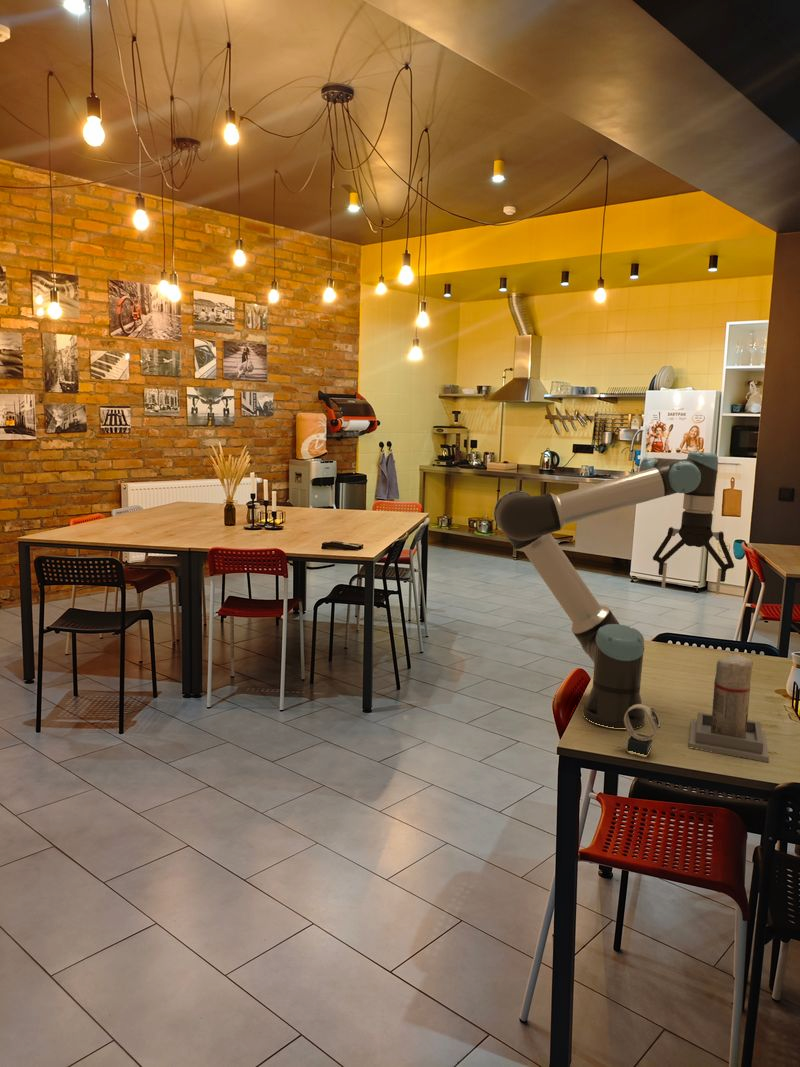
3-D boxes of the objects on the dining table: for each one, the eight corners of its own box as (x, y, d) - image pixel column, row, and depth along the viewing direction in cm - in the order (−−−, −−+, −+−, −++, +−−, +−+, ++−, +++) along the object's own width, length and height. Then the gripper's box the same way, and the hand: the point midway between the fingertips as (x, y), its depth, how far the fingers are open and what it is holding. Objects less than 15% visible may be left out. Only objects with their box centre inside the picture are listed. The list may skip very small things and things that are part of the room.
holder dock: (688, 748, 184) (690, 733, 183) (691, 723, 200) (692, 709, 199) (768, 762, 178) (770, 746, 177) (764, 735, 193) (765, 721, 193)
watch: (655, 760, 177) (659, 713, 175) (619, 751, 180) (623, 706, 179) (659, 751, 182) (664, 705, 180) (624, 743, 185) (628, 698, 184)
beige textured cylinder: (741, 747, 183) (750, 664, 180) (705, 737, 188) (713, 656, 185) (750, 736, 190) (759, 656, 187) (715, 727, 194) (723, 649, 192)
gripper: (748, 514, 205) (740, 593, 208) (649, 506, 214) (642, 582, 217) (750, 516, 198) (741, 598, 201) (647, 508, 207) (640, 587, 210)
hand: (689, 590), depth 209 cm, fingers open, 13 cm apart
